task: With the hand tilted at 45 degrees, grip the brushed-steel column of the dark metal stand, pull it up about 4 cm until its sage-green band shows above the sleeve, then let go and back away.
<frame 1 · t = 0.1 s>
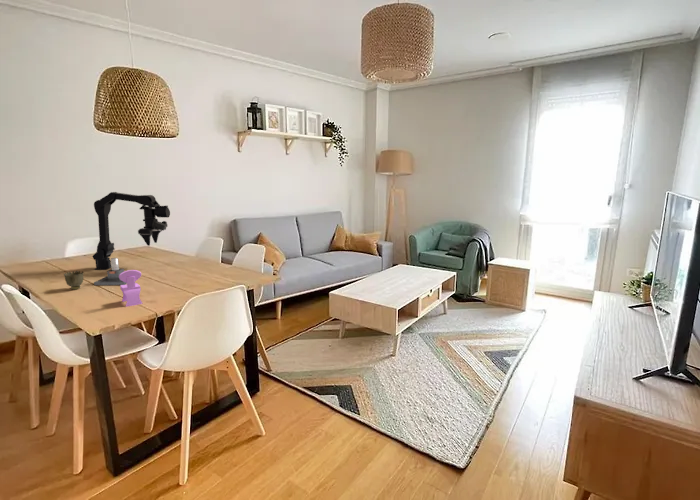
hand: (152, 244, 213), 15 cm above the table, tool pointing down, fingers open, 9 cm apart
cup: (75, 289, 176), on the table
stand: (116, 281, 189), on the table
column: (115, 269, 188), point 6 cm above the table, slide at 0.0 cm
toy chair: (132, 302, 159), on the table
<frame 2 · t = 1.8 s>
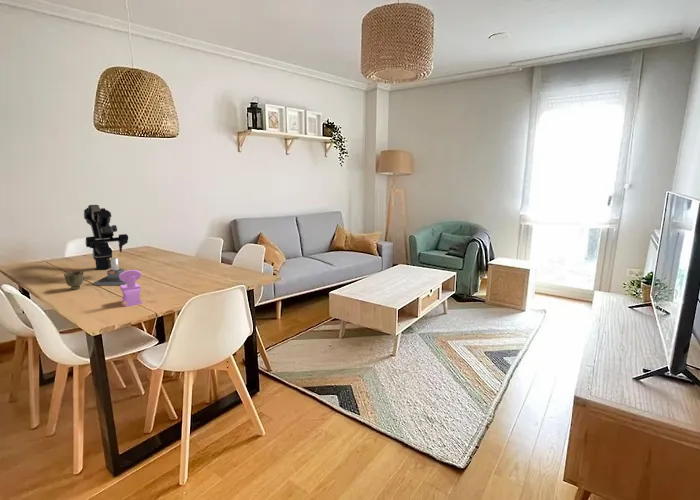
hand: (110, 253, 193), 13 cm above the table, tool tilted 45°, fingers open, 9 cm apart
nothing on the table moved.
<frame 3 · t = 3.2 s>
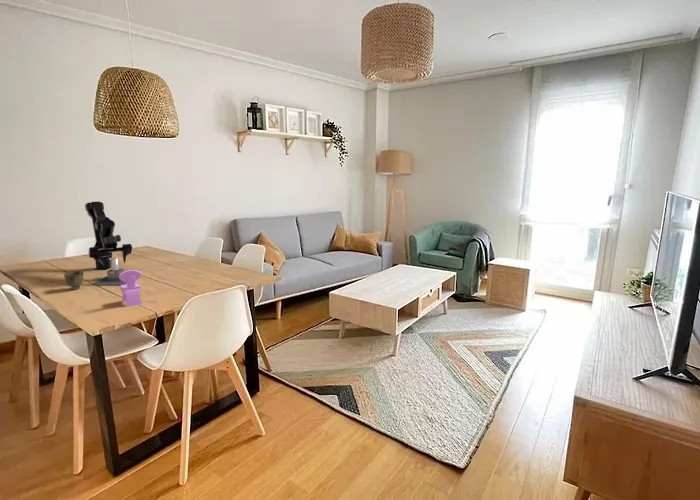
hand: (114, 263, 188), 9 cm above the table, tool tilted 45°, fingers open, 9 cm apart
nothing on the table moved.
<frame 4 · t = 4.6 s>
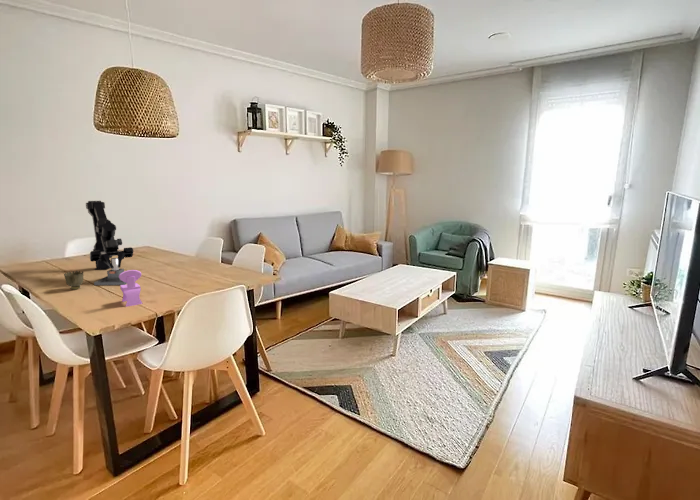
hand: (115, 267, 187), 8 cm above the table, tool tilted 45°, fingers closed on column, 3 cm apart
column: (115, 269, 188), point 6 cm above the table, slide at 0.0 cm, touching gripper
everything else where it was.
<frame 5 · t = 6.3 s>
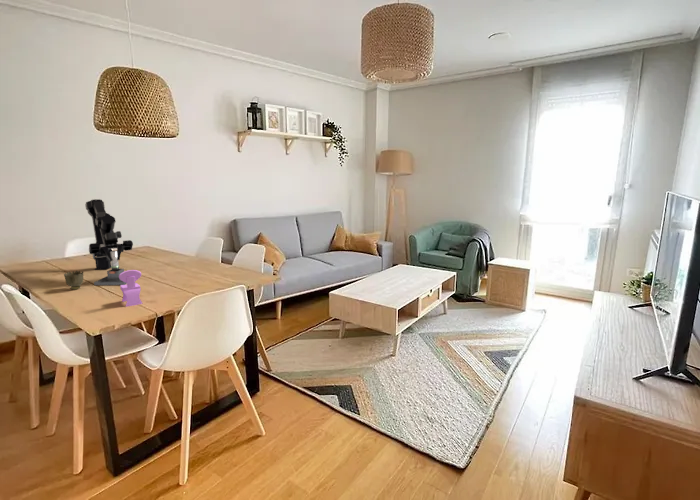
hand: (115, 260, 186), 11 cm above the table, tool tilted 45°, fingers closed on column, 3 cm apart
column: (114, 262, 187), point 10 cm above the table, slide at 3.7 cm, touching gripper
everything else where it was.
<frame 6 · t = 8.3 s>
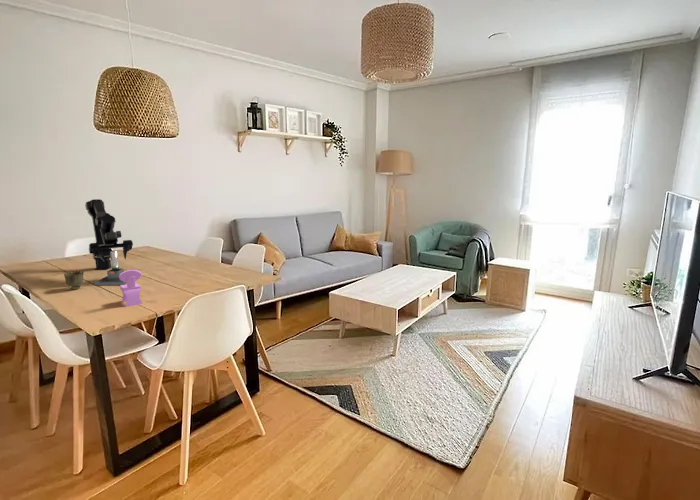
hand: (115, 259, 186), 12 cm above the table, tool tilted 45°, fingers open, 9 cm apart
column: (114, 262, 187), point 10 cm above the table, slide at 3.8 cm
everything else where it was.
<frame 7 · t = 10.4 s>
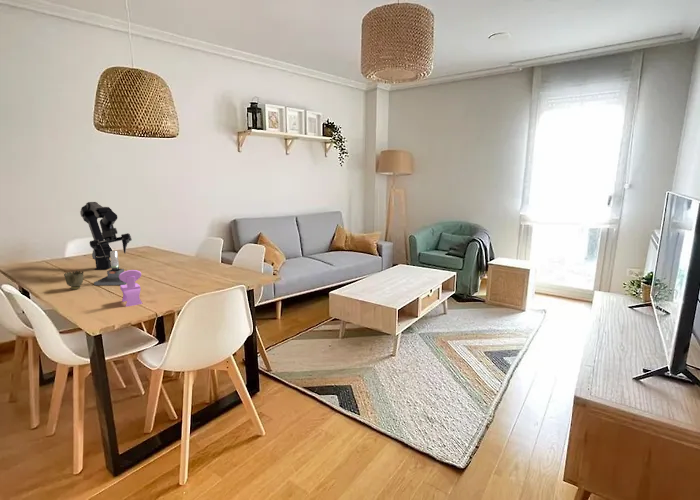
hand: (115, 255, 197), 11 cm above the table, tool tilted 30°, fingers open, 9 cm apart
nothing on the table moved.
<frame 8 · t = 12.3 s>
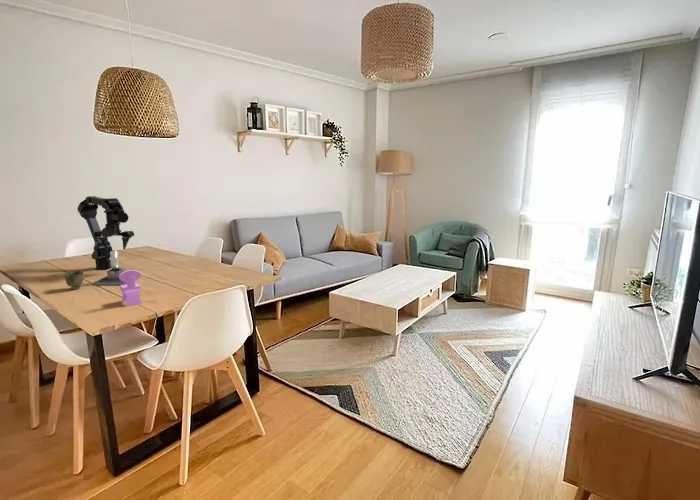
hand: (115, 249, 205), 13 cm above the table, tool pointing down, fingers open, 9 cm apart
nothing on the table moved.
at the end: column slide at 3.8 cm; the gripper is holding nothing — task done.
